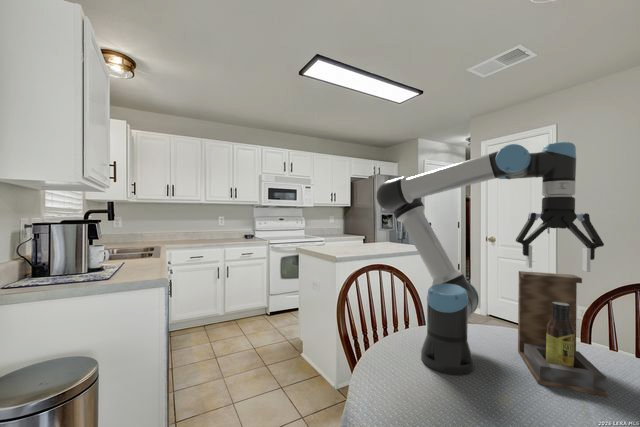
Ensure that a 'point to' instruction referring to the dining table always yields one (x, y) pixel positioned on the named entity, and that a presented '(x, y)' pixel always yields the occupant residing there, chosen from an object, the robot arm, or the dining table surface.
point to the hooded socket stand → (533, 330)
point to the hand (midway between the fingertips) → (556, 269)
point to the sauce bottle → (560, 337)
